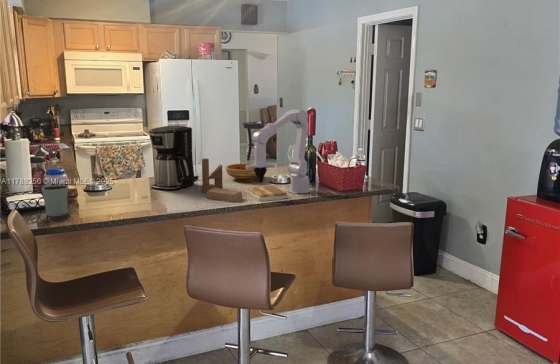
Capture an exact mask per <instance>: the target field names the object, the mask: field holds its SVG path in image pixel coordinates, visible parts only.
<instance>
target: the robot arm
mask: <svg viewBox="0 0 560 364" xmlns="http://www.w3.org/2000/svg"><path fill="white" fill-rule="evenodd" d="M308 119H309V114H308V113H307V111H306V110H304V109H293V108H291V109H289V110H288V111H285V113H284V114H283V115H282V116H281V117H279V119H277V120H276V121H275V122H274V123H273V122H270V123H269V122H268V123H267V124H266V125H265V126H264V127H263V128H260V129H259V131H255V132H254V133H253V134H252V136H251V140H252V143H253V145H254V148H253V150H254V152H253V153H254V154H253V155H254V162H253V163H250V164H251V165H246V169H254V171H255V173H256V176H257V178H256V179H257V183H259V184H261V183H262V184H263V181H264V178H265V175H266V173H267V171H268V169H270V168H273V169H274V168H275V163H273V162H271V163H270V162H269V163H267V158H266V157H267V145H266V144H267V143H268V142H269V139H270V138H271V137H273V136H274V135H275V134H277V133H278V129H280V128H281V127H283V126H284V125H286V124H288V123H289V122H291V123H292V124H294V125H295V127H296V128H297V129H296V138H295V145H294V154H293V158H291V159H290V163H289V165H288V168H287V169H288V172H289V174H290V175H289V176H290V189H288V190H287V191H288V193H290V194H293V195H299V194H298V193H300V194H309V193H308V192H310V177H309V176H308V175H307V174H308V162H307V161H306V159H305V154H306V148H307V141H308V140H307V139H308V131H309V122H308V121H309V120H308Z"/></svg>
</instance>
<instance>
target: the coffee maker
mask: <svg viewBox="0 0 560 364" xmlns="http://www.w3.org/2000/svg"><path fill="white" fill-rule="evenodd" d="M148 135H149V140H150V143H151V147H152V149H153V150H156V157H155V161H154V173H153V175H154V176H153V178H154V184H151V185H150V187H151V188H152V189H156V190H164V191H165V190H166V191H176V190H180V189H183V188H186V189H187V188H188V187H190V186H192V185H194V183H195V181H197V180H199V177H201V176H199V175H198V174H197V175H195V172H194V171H195V170H194V160H193V128H192V127H190V126H186V125H185V126H184V125H165V126H159V127H154V128H150V129H149V130H148Z"/></svg>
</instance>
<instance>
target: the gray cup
mask: <svg viewBox="0 0 560 364" xmlns="http://www.w3.org/2000/svg"><path fill="white" fill-rule="evenodd" d="M68 188H69V187H68V185H65V184H61V185H60V184H56V185H55V184H54V185H53V184H52V185H46V186H43V187H42V188H41V191H42V196H43V199H44V200H43V202H44V206H45V215H46V216H48V217H61V216H65V215H67V214H68V210H69V209H68V202H69V200H68V197H69V196H68V194H69V193H68V192H69V189H68Z"/></svg>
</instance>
